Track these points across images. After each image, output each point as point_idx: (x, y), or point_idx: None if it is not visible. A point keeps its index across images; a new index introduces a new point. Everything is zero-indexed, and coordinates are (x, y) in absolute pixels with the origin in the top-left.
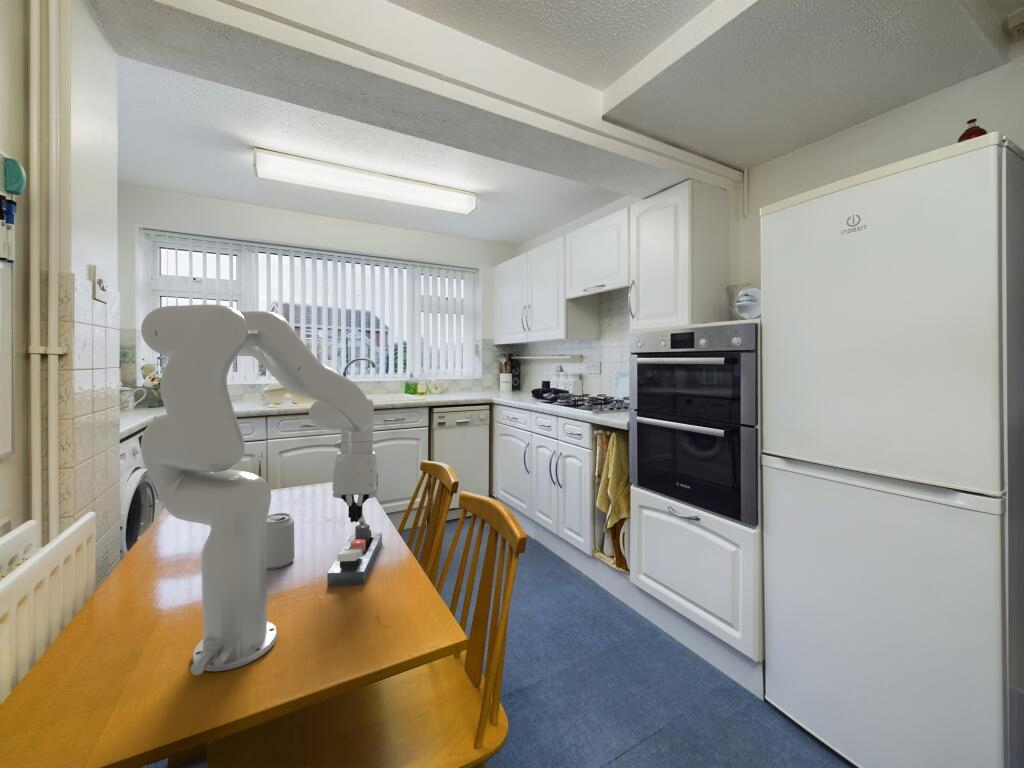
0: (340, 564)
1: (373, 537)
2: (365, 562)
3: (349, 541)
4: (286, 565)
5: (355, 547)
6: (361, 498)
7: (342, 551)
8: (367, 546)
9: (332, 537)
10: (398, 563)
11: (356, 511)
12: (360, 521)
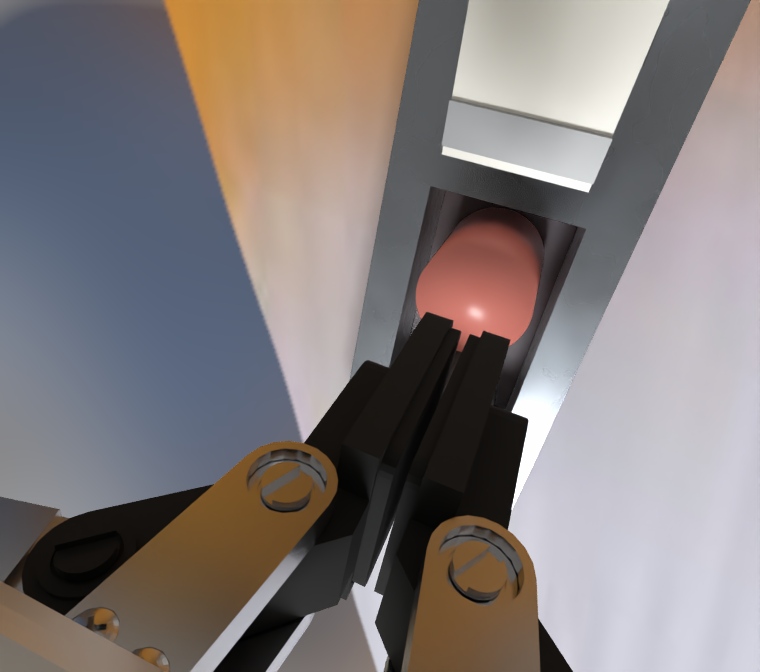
0: None
1: None
2: (437, 20)
3: (531, 428)
4: None
5: (498, 243)
6: (176, 548)
7: (637, 68)
8: None
9: (612, 595)
10: (265, 138)
11: (388, 389)
12: None
